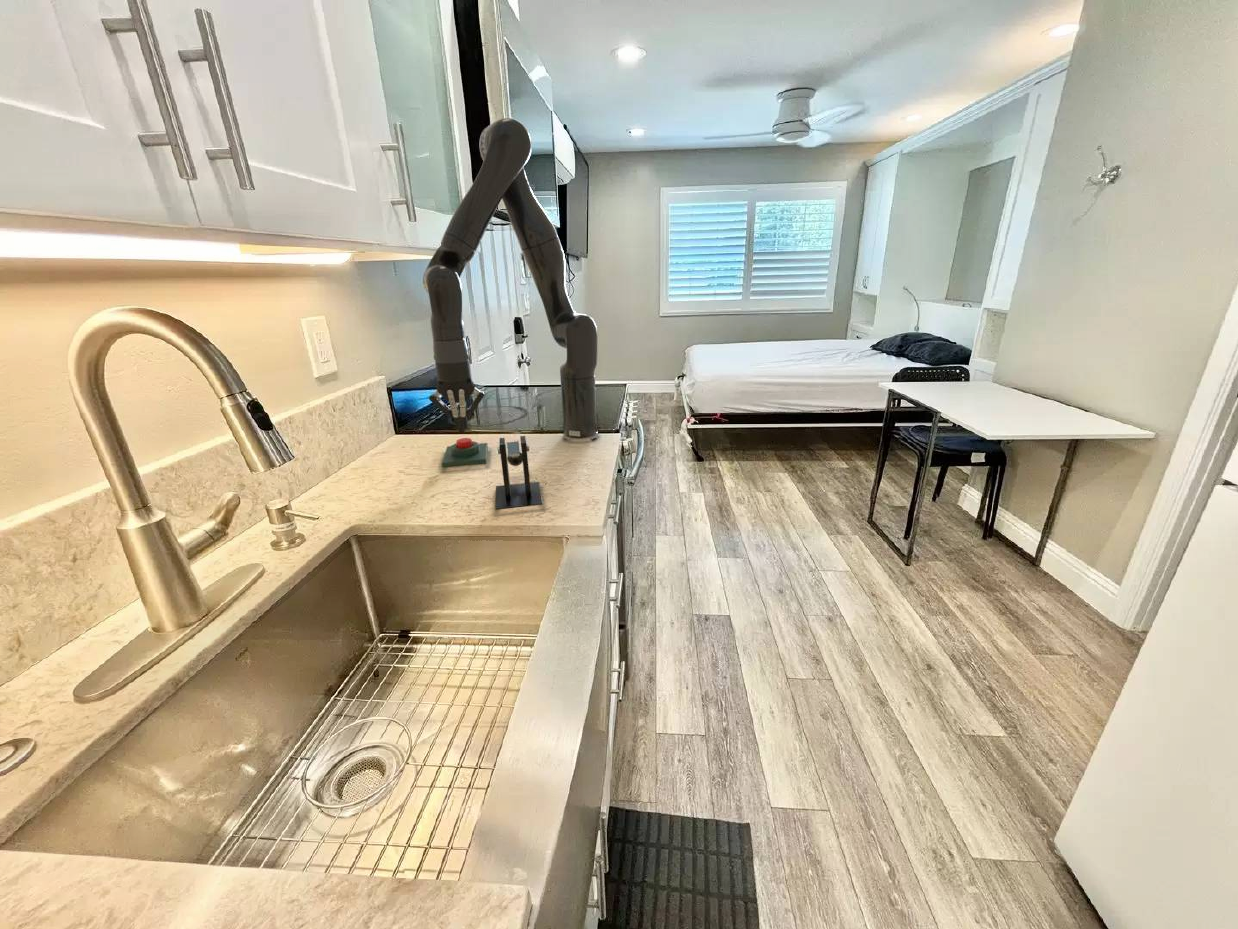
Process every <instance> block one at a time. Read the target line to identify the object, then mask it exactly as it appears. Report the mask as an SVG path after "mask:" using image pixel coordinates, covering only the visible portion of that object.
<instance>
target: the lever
mask: <svg viewBox="0 0 1238 929" xmlns="http://www.w3.org/2000/svg"><path fill="white" fill-rule="evenodd" d="M519 441H520V440H519ZM519 441H518V440H516V441H507V442H506V449H507V462H508V465H511V466H513V467H518V466H521V465H522V464H523V460H522V451H521V450H520V443H519Z"/></svg>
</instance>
